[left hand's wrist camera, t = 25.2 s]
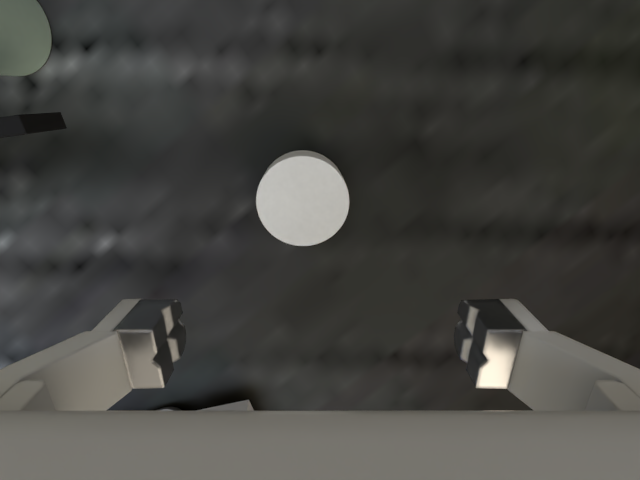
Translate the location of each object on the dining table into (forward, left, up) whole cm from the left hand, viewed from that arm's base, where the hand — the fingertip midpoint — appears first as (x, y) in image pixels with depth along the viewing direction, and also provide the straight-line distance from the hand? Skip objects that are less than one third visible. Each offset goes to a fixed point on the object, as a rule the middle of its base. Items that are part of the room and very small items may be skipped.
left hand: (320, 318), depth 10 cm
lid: (+1, 0, -13) cm, 13 cm away
